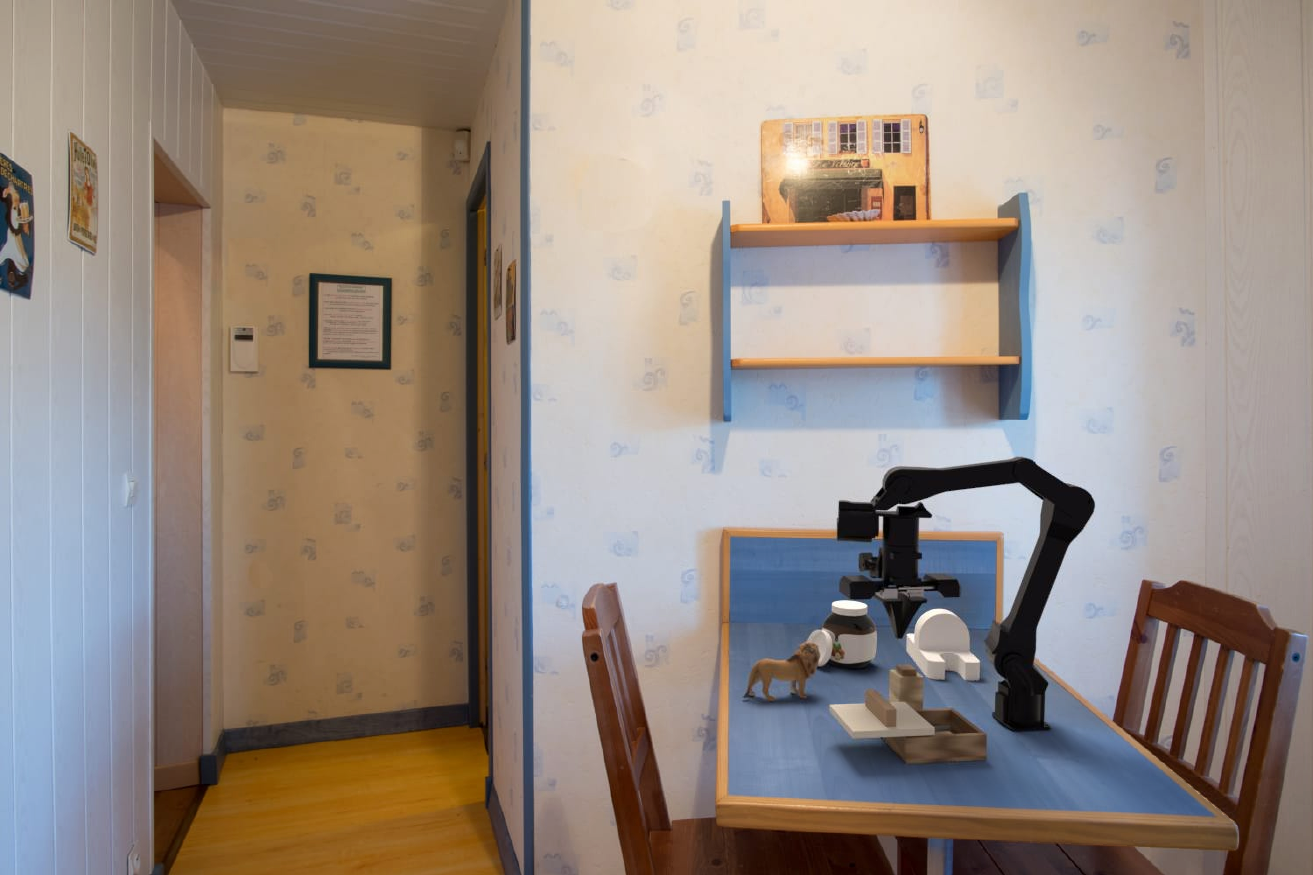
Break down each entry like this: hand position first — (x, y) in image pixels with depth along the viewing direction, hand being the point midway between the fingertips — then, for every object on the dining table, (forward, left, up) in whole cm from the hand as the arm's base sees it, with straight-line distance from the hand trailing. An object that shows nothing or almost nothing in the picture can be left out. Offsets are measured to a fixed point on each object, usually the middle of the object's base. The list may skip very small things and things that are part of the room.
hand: (898, 638), depth 131 cm
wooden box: (0, +13, -12) cm, 18 cm away
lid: (+8, +13, -8) cm, 18 cm away
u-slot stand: (-19, -23, -13) cm, 33 cm away
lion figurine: (+16, -10, -13) cm, 23 cm away
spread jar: (+1, -25, -13) cm, 28 cm away
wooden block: (-1, +1, -12) cm, 13 cm away
